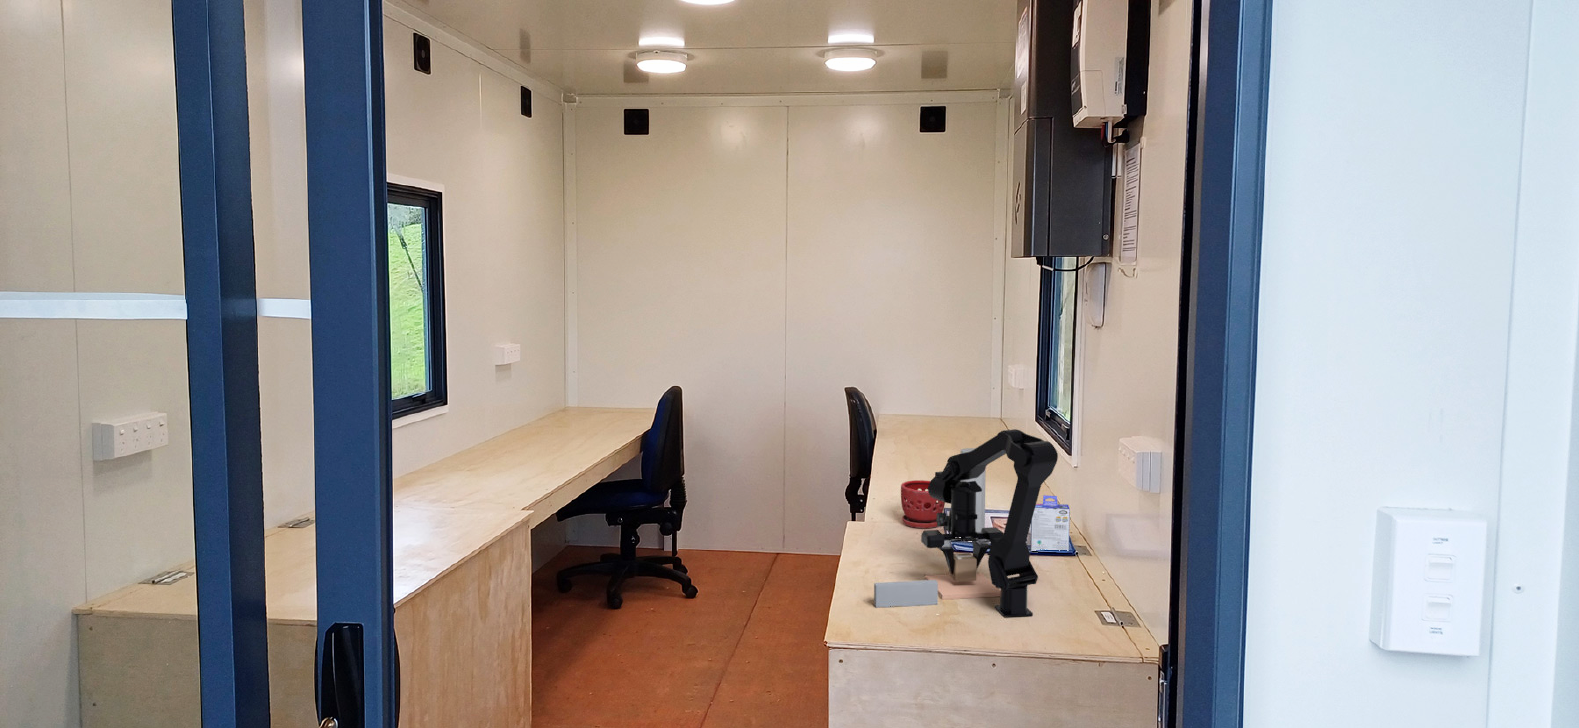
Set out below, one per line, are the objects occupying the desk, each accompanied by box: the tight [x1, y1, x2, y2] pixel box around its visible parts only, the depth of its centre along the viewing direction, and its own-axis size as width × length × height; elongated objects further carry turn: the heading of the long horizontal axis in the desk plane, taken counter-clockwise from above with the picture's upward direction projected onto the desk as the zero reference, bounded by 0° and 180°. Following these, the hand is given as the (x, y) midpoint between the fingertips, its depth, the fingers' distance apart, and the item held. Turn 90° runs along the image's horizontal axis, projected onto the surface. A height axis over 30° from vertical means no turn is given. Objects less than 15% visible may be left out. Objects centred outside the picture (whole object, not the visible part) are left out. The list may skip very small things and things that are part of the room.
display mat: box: [924, 572, 1000, 600], centre depth 225 cm, size 14×14×1 cm
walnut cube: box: [948, 552, 978, 582], centre depth 225 cm, size 5×5×5 cm
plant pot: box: [900, 479, 946, 529], centre depth 280 cm, size 13×13×12 cm
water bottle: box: [959, 447, 987, 532], centre depth 264 cm, size 9×8×25 cm
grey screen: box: [873, 579, 939, 609], centre depth 214 cm, size 2×14×5 cm, turn 98°
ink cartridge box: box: [1030, 494, 1071, 552], centre depth 254 cm, size 10×6×14 cm, turn 78°
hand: (962, 573), depth 225 cm, fingers closed on walnut cube, 5 cm apart
